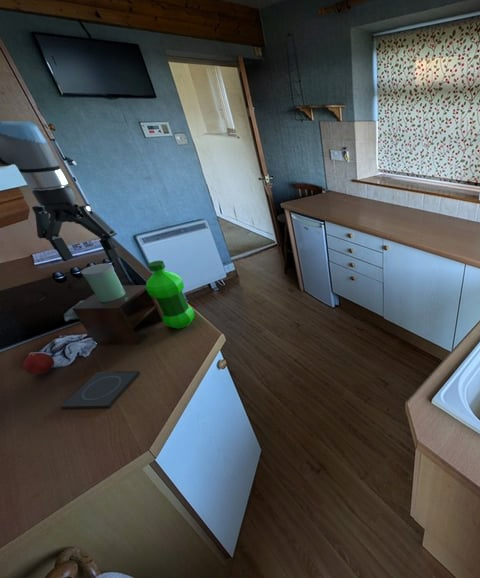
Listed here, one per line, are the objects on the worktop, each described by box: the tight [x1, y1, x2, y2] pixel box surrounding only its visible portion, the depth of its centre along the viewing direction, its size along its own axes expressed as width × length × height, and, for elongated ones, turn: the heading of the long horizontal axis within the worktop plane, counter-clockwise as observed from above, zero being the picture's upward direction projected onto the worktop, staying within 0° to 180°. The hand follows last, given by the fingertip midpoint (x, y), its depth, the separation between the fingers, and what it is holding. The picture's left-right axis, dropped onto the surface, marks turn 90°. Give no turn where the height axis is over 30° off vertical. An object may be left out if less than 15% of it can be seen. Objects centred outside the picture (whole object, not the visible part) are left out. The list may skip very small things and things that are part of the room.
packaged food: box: [63, 299, 85, 322], centre depth 111 cm, size 9×12×5 cm
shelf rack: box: [71, 284, 163, 346], centre depth 100 cm, size 14×14×15 cm
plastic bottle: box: [145, 260, 195, 330], centre depth 101 cm, size 10×10×25 cm
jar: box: [80, 262, 126, 302], centre depth 94 cm, size 7×7×10 cm
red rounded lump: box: [22, 352, 55, 375], centre depth 85 cm, size 6×6×8 cm
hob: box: [60, 370, 141, 410], centre depth 82 cm, size 12×12×1 cm
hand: (91, 259), depth 89 cm, fingers open, 13 cm apart
